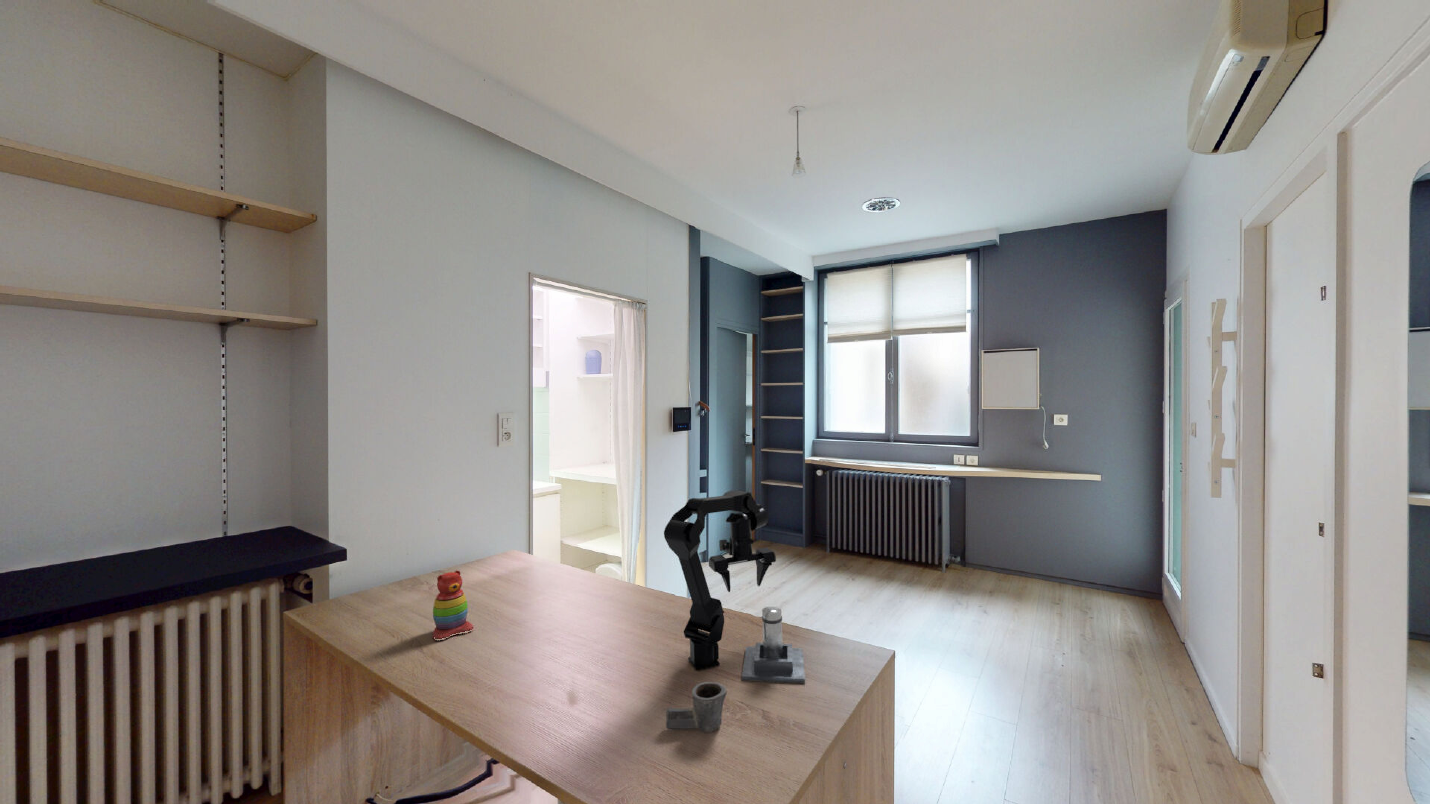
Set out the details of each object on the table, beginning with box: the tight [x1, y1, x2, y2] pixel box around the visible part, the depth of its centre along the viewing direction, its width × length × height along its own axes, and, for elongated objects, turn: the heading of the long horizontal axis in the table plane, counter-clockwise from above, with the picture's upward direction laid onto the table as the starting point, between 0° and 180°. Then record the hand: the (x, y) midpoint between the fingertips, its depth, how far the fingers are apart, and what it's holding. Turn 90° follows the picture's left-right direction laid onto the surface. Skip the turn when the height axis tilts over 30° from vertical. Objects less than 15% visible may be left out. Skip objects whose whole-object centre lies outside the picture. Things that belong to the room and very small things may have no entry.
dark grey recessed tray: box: [741, 642, 806, 684], centre depth 132 cm, size 15×15×4 cm
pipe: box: [665, 681, 728, 733], centre depth 108 cm, size 6×13×8 cm, turn 95°
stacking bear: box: [432, 570, 474, 639], centre depth 157 cm, size 11×10×18 cm
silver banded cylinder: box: [761, 606, 783, 659], centre depth 132 cm, size 5×5×13 cm
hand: (743, 588), depth 149 cm, fingers open, 9 cm apart
